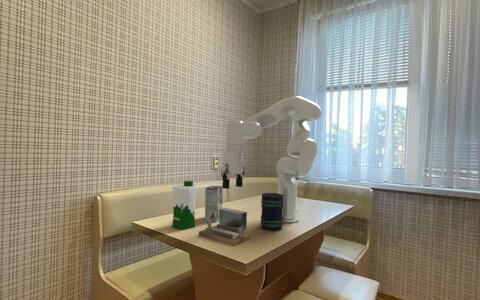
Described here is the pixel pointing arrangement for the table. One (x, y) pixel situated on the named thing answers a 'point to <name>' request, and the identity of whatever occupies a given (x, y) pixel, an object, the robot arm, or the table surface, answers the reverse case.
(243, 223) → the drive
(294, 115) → the robot arm
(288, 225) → the table surface
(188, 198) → the milk carton
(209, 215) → the coffee box
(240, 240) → the dock
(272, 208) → the storage jar
